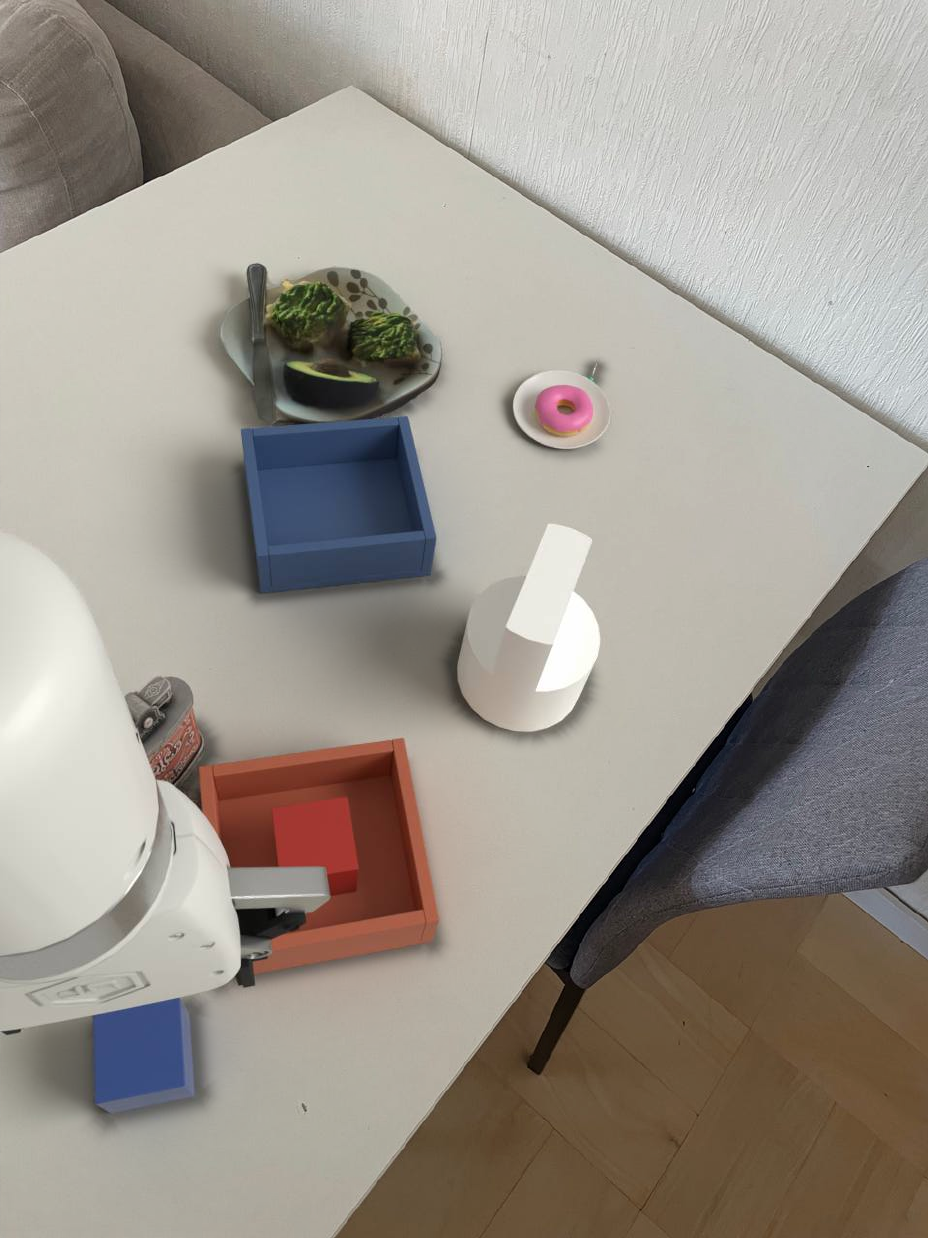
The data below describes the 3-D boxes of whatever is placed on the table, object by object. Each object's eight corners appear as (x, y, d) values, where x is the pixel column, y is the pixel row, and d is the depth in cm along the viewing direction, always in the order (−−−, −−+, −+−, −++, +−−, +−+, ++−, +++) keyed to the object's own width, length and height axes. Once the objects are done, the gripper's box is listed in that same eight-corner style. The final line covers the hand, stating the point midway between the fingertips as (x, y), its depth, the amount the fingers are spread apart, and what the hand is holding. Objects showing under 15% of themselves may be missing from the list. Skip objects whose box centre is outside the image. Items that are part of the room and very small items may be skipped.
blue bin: (260, 594, 74) (256, 556, 70) (244, 470, 80) (240, 428, 76) (430, 575, 76) (436, 537, 72) (403, 456, 82) (407, 415, 78)
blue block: (110, 1114, 56) (94, 1104, 52) (107, 1028, 58) (92, 1012, 54) (195, 1097, 56) (185, 1086, 53) (189, 1012, 59) (179, 996, 55)
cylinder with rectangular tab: (560, 750, 70) (599, 666, 60) (438, 703, 71) (457, 612, 61) (596, 646, 75) (638, 552, 65) (481, 604, 76) (505, 504, 65)
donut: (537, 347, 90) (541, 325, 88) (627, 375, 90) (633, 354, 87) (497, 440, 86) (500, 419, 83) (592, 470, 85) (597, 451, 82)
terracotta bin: (221, 980, 60) (214, 961, 56) (206, 796, 66) (198, 766, 61) (432, 942, 62) (439, 920, 58) (399, 767, 68) (404, 737, 64)
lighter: (178, 719, 68) (157, 644, 60) (217, 748, 67) (201, 676, 59) (87, 810, 64) (51, 743, 56) (127, 842, 63) (96, 779, 55)
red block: (282, 904, 62) (279, 882, 58) (274, 834, 64) (271, 807, 60) (356, 891, 63) (358, 869, 59) (346, 822, 65) (347, 796, 61)
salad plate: (169, 310, 88) (161, 266, 84) (347, 247, 94) (348, 204, 90) (282, 462, 80) (279, 422, 76) (466, 382, 87) (473, 342, 83)
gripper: (-307, 1036, 27) (-83, 1110, 41) (346, 912, 30) (341, 1021, 45) (-268, 774, 31) (-75, 927, 45) (310, 691, 34) (316, 857, 49)
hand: (133, 974), depth 45 cm, fingers open, 9 cm apart
